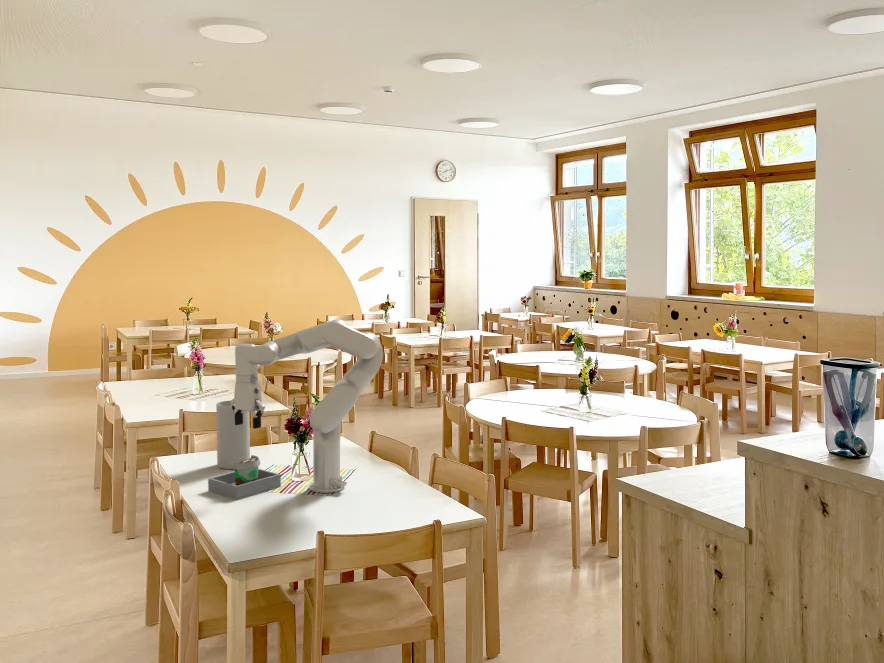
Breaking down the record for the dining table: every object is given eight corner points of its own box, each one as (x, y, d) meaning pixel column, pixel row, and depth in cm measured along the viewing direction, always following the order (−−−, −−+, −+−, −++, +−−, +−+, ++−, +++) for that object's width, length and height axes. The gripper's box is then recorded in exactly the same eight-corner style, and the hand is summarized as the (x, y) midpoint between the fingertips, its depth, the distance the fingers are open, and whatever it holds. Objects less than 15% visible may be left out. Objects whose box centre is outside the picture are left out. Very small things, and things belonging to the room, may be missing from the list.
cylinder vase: (256, 464, 314) (255, 402, 311) (232, 471, 304) (231, 407, 301) (235, 459, 321) (234, 399, 318) (210, 466, 311) (209, 403, 308)
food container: (248, 492, 274) (248, 464, 273) (233, 491, 276) (233, 463, 275) (267, 483, 286) (266, 456, 285) (252, 481, 288) (252, 454, 287)
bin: (280, 486, 285) (280, 474, 285) (236, 499, 269) (236, 486, 269) (252, 478, 294) (252, 466, 294) (208, 490, 279) (208, 478, 278)
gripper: (271, 379, 277) (272, 427, 279) (239, 375, 287) (240, 421, 289) (254, 382, 271) (255, 431, 273) (222, 377, 281) (223, 425, 283)
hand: (247, 426), depth 281 cm, fingers open, 9 cm apart
